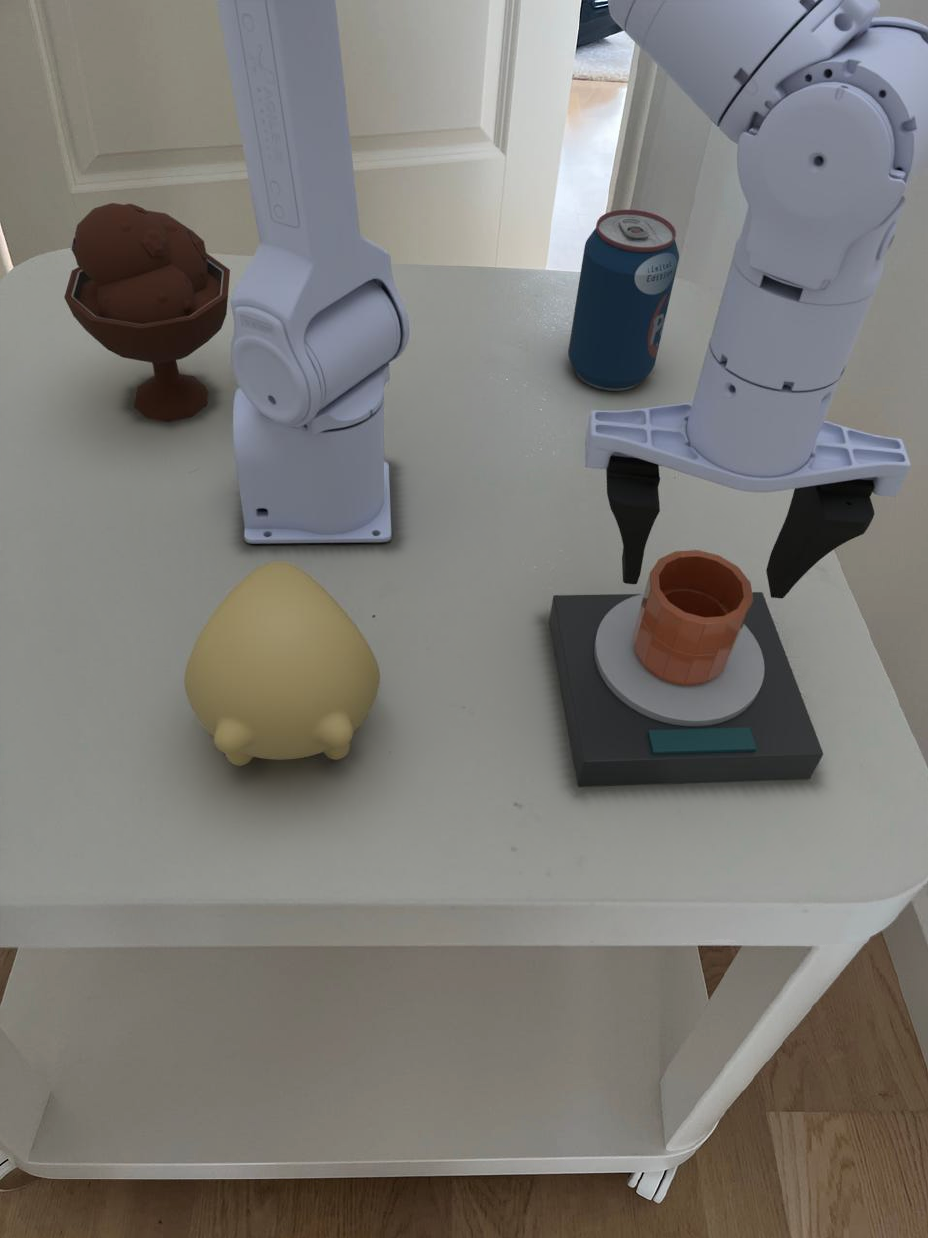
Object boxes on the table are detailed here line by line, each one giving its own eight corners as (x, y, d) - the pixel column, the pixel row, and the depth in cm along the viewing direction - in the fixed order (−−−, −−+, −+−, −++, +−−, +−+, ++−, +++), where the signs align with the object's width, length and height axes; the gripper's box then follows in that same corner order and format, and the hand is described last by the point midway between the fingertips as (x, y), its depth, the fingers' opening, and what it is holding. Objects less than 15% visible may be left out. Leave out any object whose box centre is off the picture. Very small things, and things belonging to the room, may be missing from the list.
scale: (577, 787, 54) (585, 755, 52) (548, 621, 62) (554, 587, 60) (810, 779, 55) (828, 748, 53) (752, 617, 63) (765, 584, 61)
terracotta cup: (633, 684, 55) (652, 618, 51) (630, 611, 59) (648, 544, 55) (731, 694, 55) (758, 629, 51) (722, 620, 59) (746, 554, 55)
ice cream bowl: (217, 454, 71) (185, 255, 60) (68, 428, 72) (10, 228, 61) (266, 371, 78) (246, 179, 67) (130, 348, 79) (88, 156, 68)
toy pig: (374, 748, 59) (371, 567, 59) (387, 779, 47) (383, 553, 47) (204, 753, 58) (201, 569, 58) (172, 787, 46) (169, 555, 46)
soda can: (662, 394, 79) (697, 250, 70) (576, 397, 78) (601, 252, 69) (638, 344, 84) (668, 204, 75) (557, 347, 83) (578, 205, 74)
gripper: (925, 318, 45) (827, 538, 55) (604, 288, 45) (565, 513, 55) (965, 412, 40) (850, 634, 51) (607, 378, 41) (563, 606, 51)
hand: (701, 577), depth 53 cm, fingers open, 7 cm apart
